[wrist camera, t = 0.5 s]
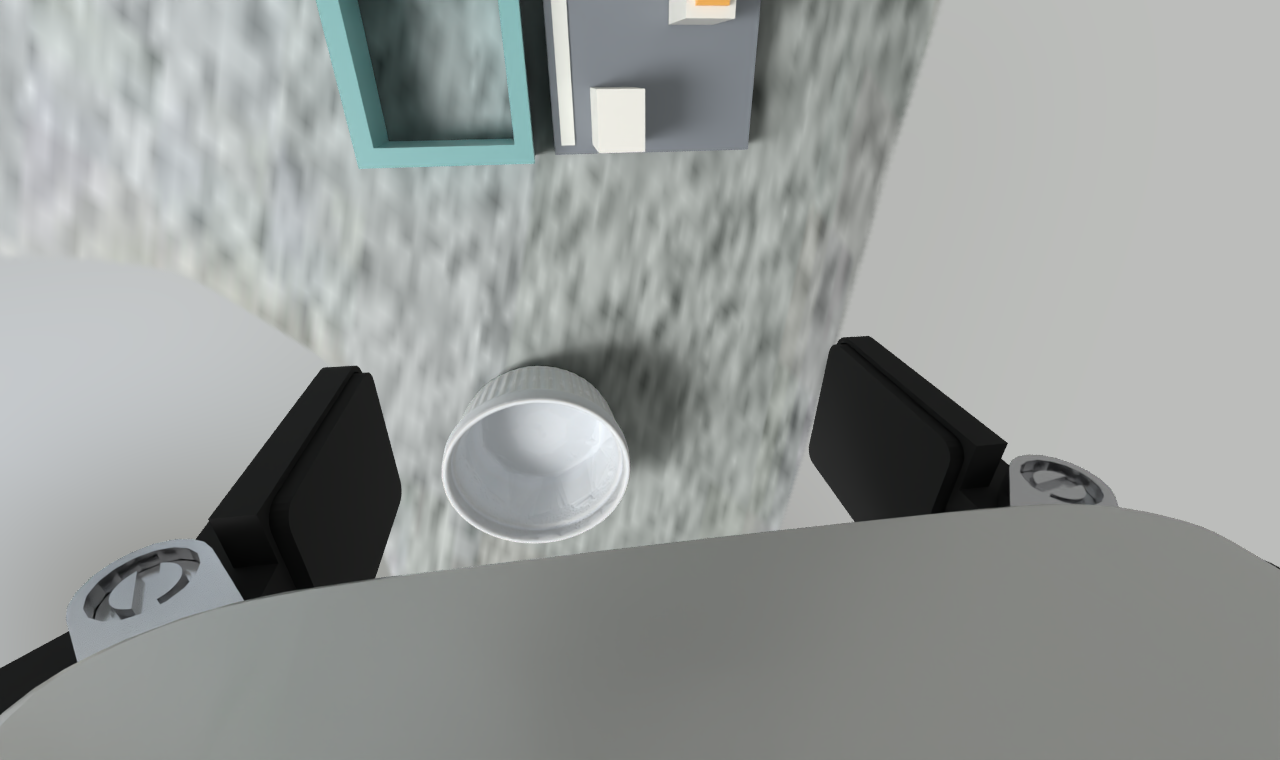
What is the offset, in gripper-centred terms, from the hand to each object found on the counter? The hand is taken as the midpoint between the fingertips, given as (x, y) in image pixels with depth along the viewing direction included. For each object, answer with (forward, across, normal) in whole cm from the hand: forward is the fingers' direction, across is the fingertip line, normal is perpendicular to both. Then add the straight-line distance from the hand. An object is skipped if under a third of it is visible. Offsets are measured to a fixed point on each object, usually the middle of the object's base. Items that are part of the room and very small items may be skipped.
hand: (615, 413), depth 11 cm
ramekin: (+28, +3, +18) cm, 34 cm away
